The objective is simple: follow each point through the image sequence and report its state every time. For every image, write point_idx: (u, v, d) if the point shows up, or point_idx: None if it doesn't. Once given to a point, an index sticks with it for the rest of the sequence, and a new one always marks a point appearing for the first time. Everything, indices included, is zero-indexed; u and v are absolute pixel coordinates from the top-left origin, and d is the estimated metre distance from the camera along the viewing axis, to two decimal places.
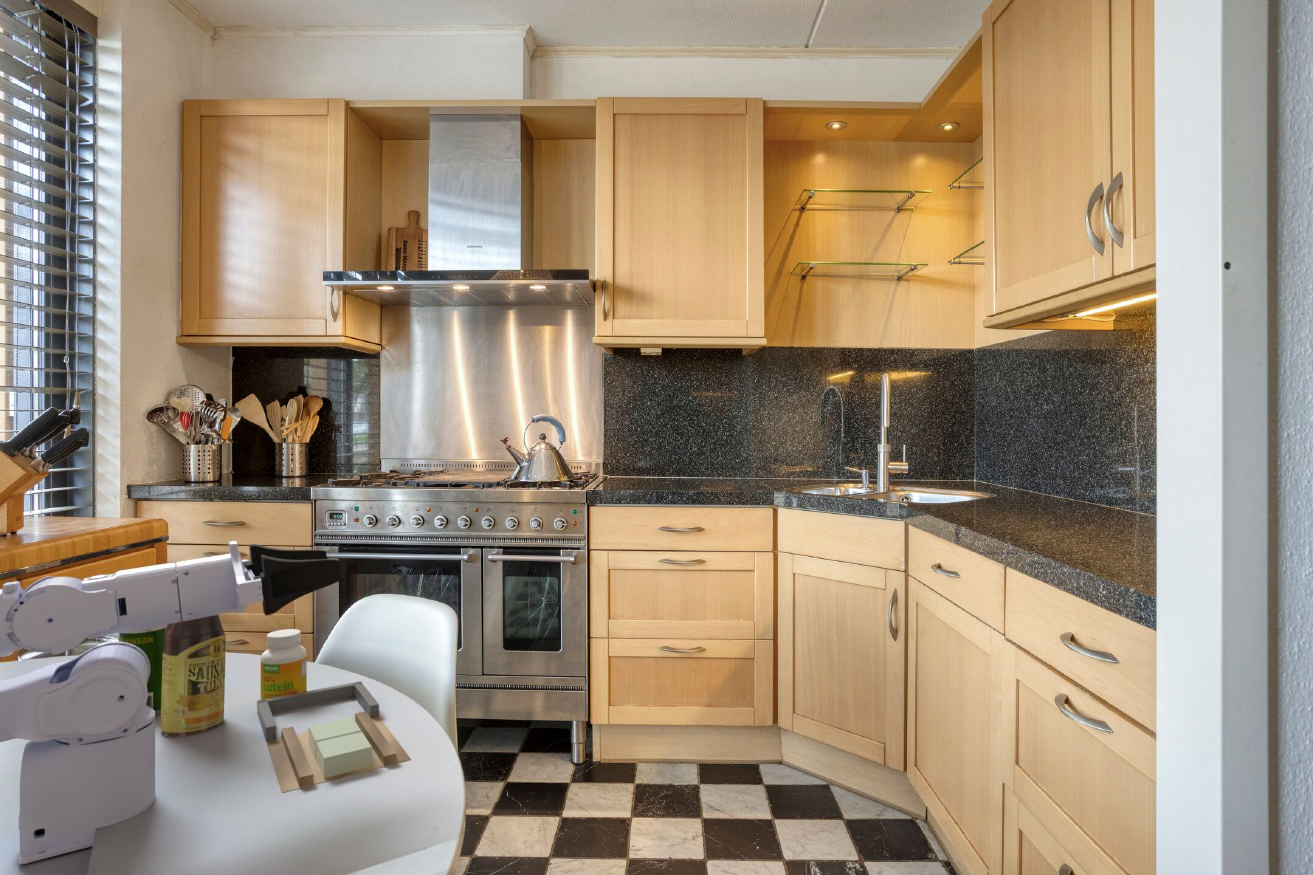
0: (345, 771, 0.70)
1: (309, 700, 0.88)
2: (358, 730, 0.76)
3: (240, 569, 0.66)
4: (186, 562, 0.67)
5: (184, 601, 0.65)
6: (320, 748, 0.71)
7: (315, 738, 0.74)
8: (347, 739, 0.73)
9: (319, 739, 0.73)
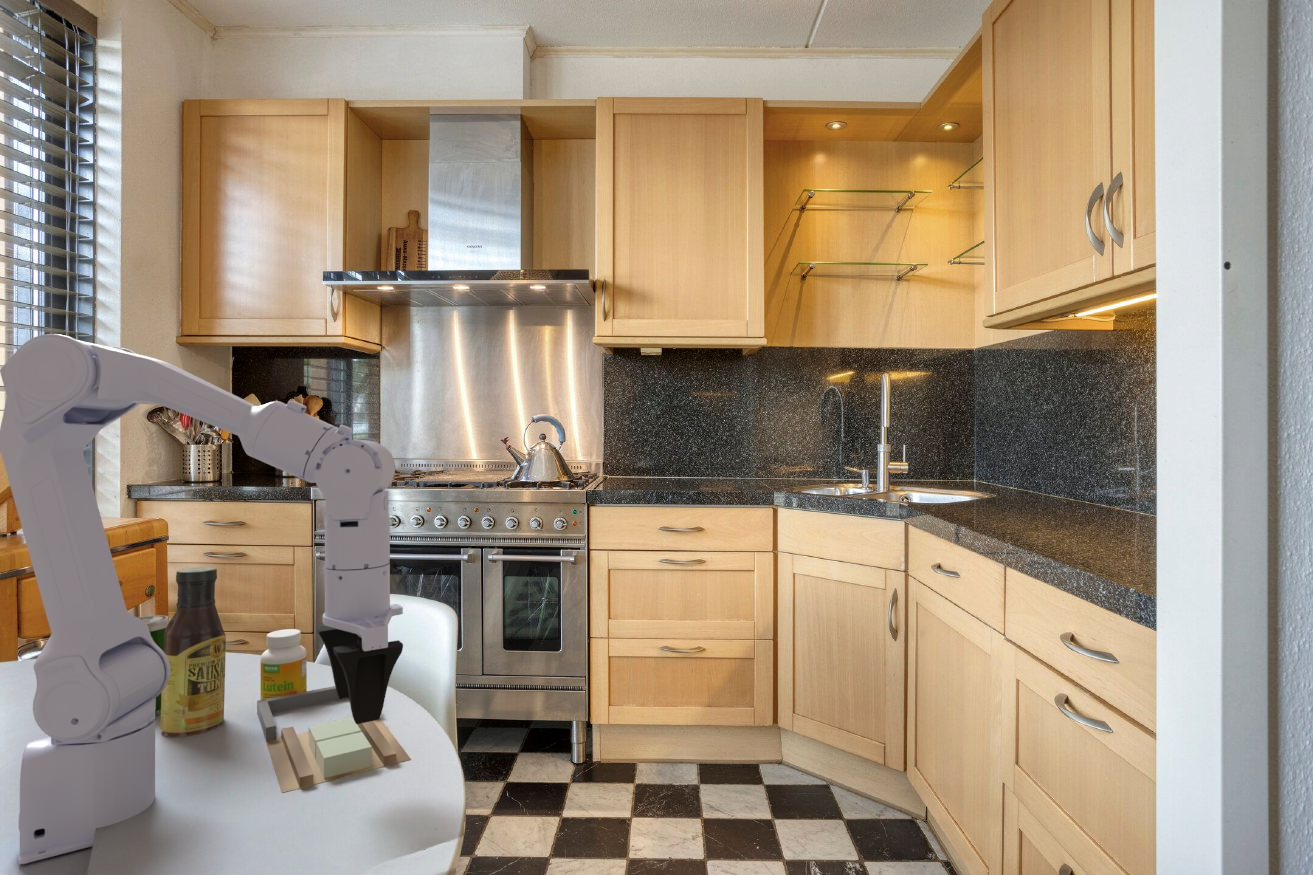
0: (345, 771, 0.70)
1: (309, 700, 0.88)
2: (358, 730, 0.76)
3: (387, 623, 0.64)
4: (389, 571, 0.68)
5: (358, 573, 0.64)
6: (320, 748, 0.71)
7: (315, 738, 0.74)
8: (347, 739, 0.73)
9: (319, 739, 0.73)
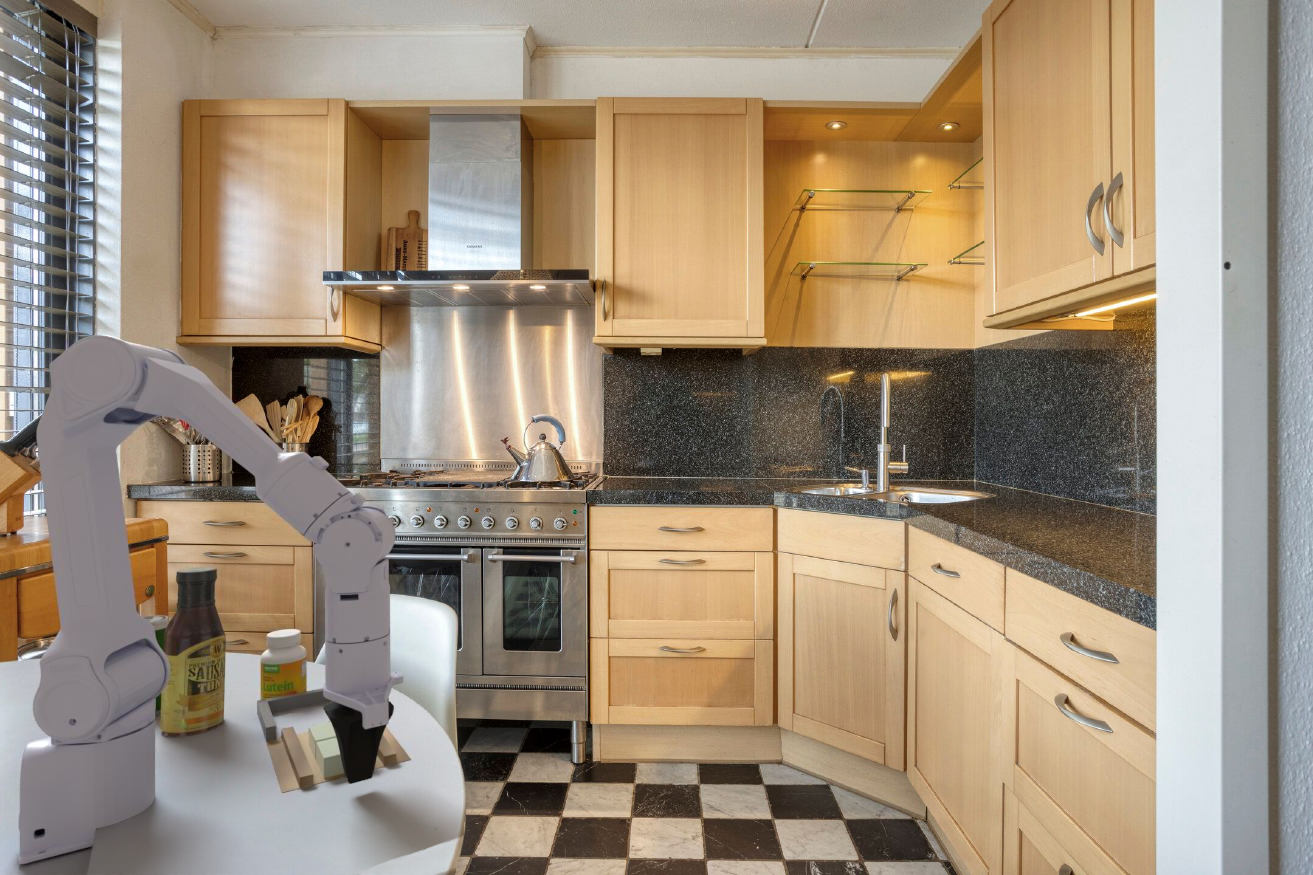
0: None
1: (309, 700, 0.88)
2: None
3: (388, 695, 0.64)
4: None
5: (358, 646, 0.64)
6: (320, 748, 0.71)
7: (315, 738, 0.74)
8: None
9: (319, 739, 0.73)
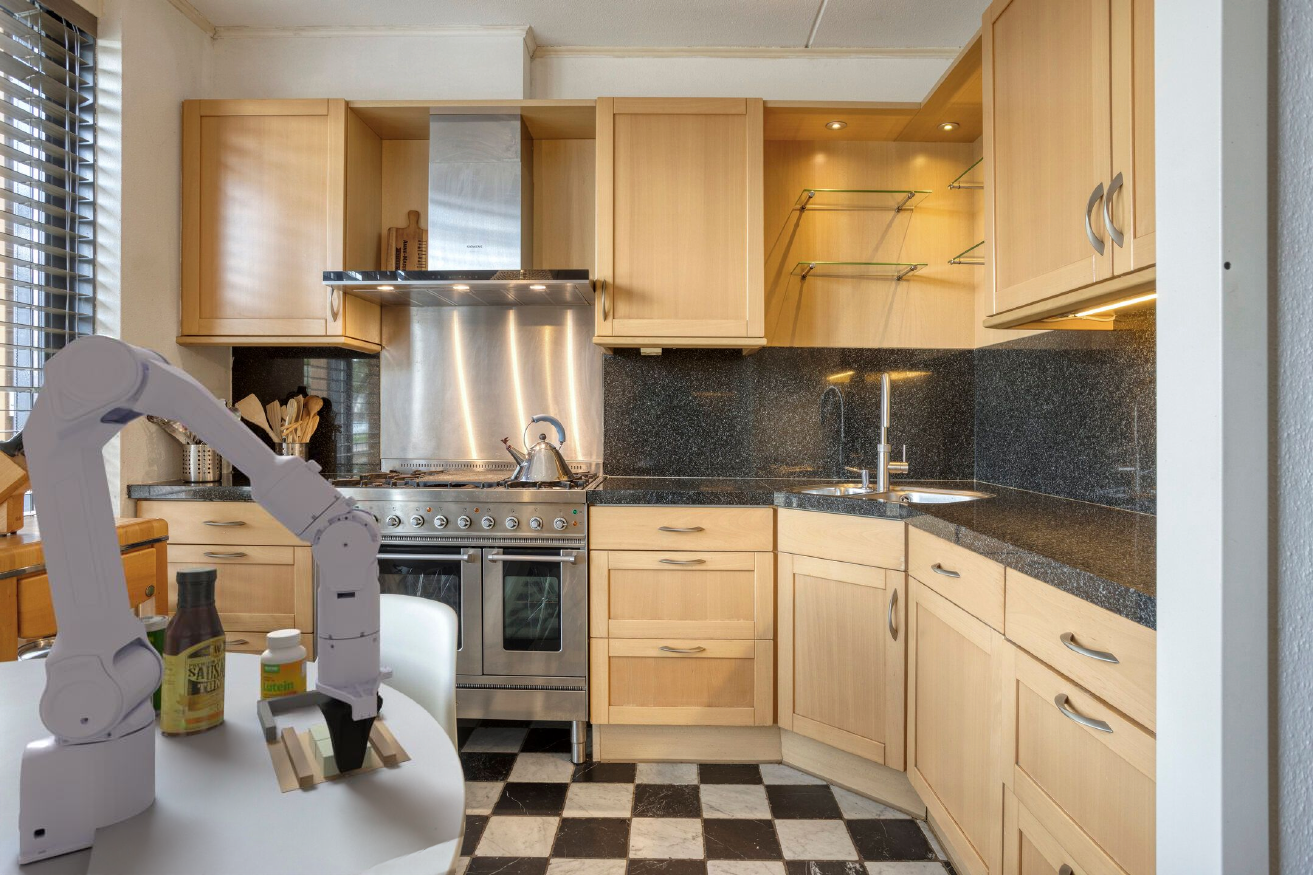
0: None
1: (309, 700, 0.88)
2: None
3: (377, 689, 0.67)
4: (379, 636, 0.71)
5: (349, 642, 0.67)
6: (320, 747, 0.71)
7: (315, 738, 0.74)
8: None
9: (319, 739, 0.73)
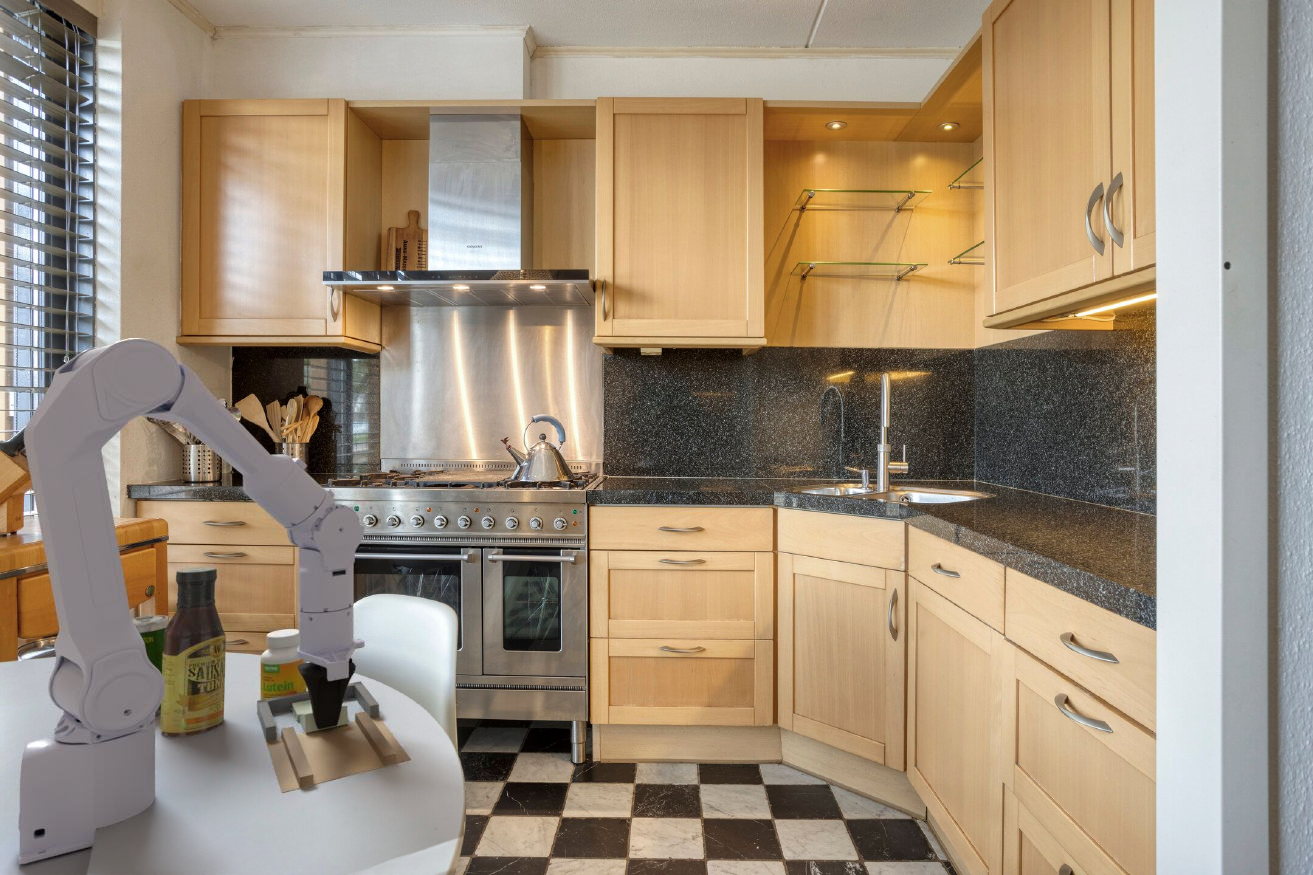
0: None
1: None
2: None
3: (350, 656, 0.78)
4: None
5: (325, 615, 0.78)
6: (302, 714, 0.82)
7: (297, 712, 0.84)
8: None
9: (300, 713, 0.84)
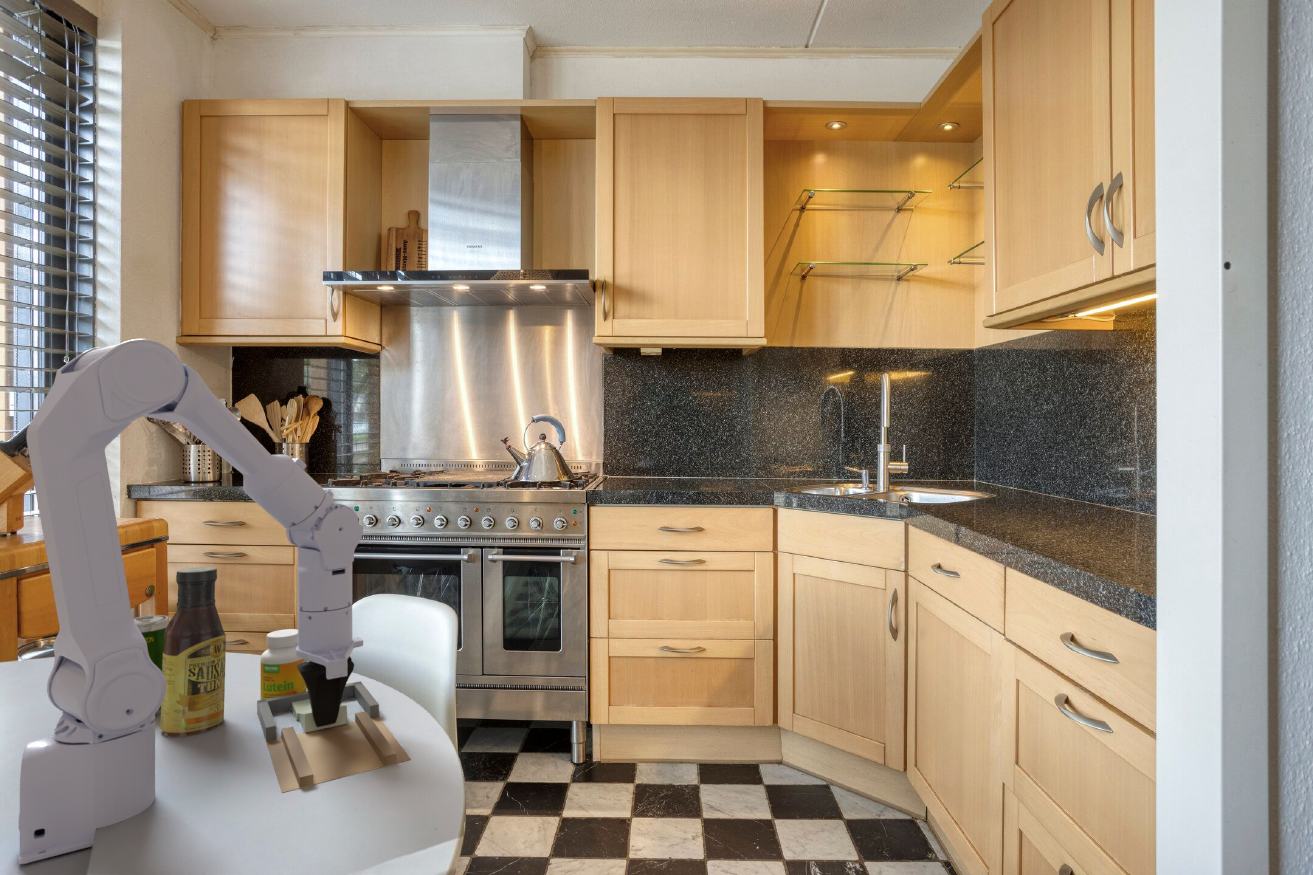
0: (324, 727, 0.81)
1: None
2: None
3: (348, 654, 0.78)
4: None
5: (324, 614, 0.78)
6: (302, 713, 0.82)
7: (297, 712, 0.84)
8: None
9: (300, 712, 0.84)
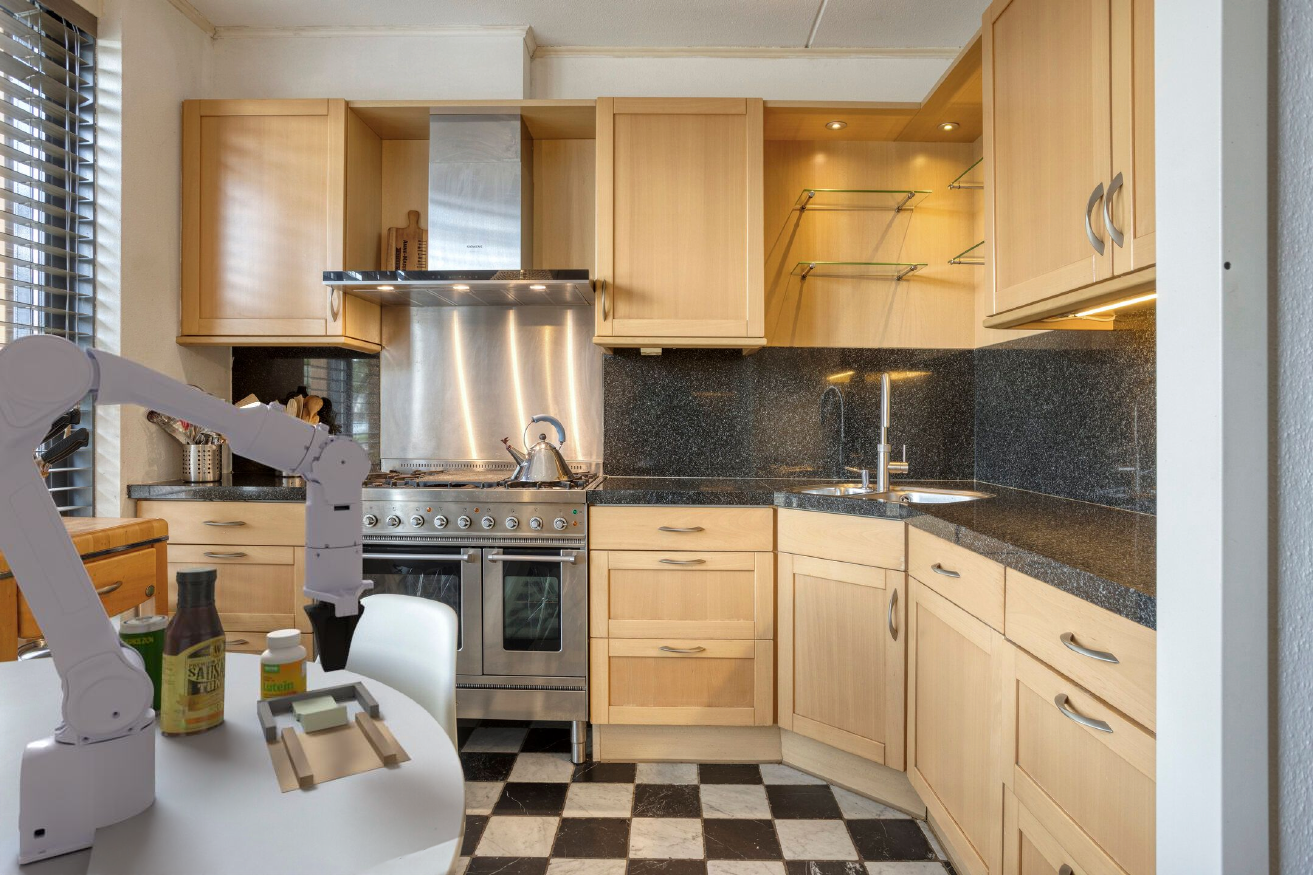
0: (324, 727, 0.81)
1: None
2: (335, 705, 0.86)
3: (359, 594, 0.74)
4: None
5: (333, 551, 0.74)
6: (302, 713, 0.82)
7: (297, 712, 0.84)
8: (326, 708, 0.84)
9: (300, 712, 0.84)
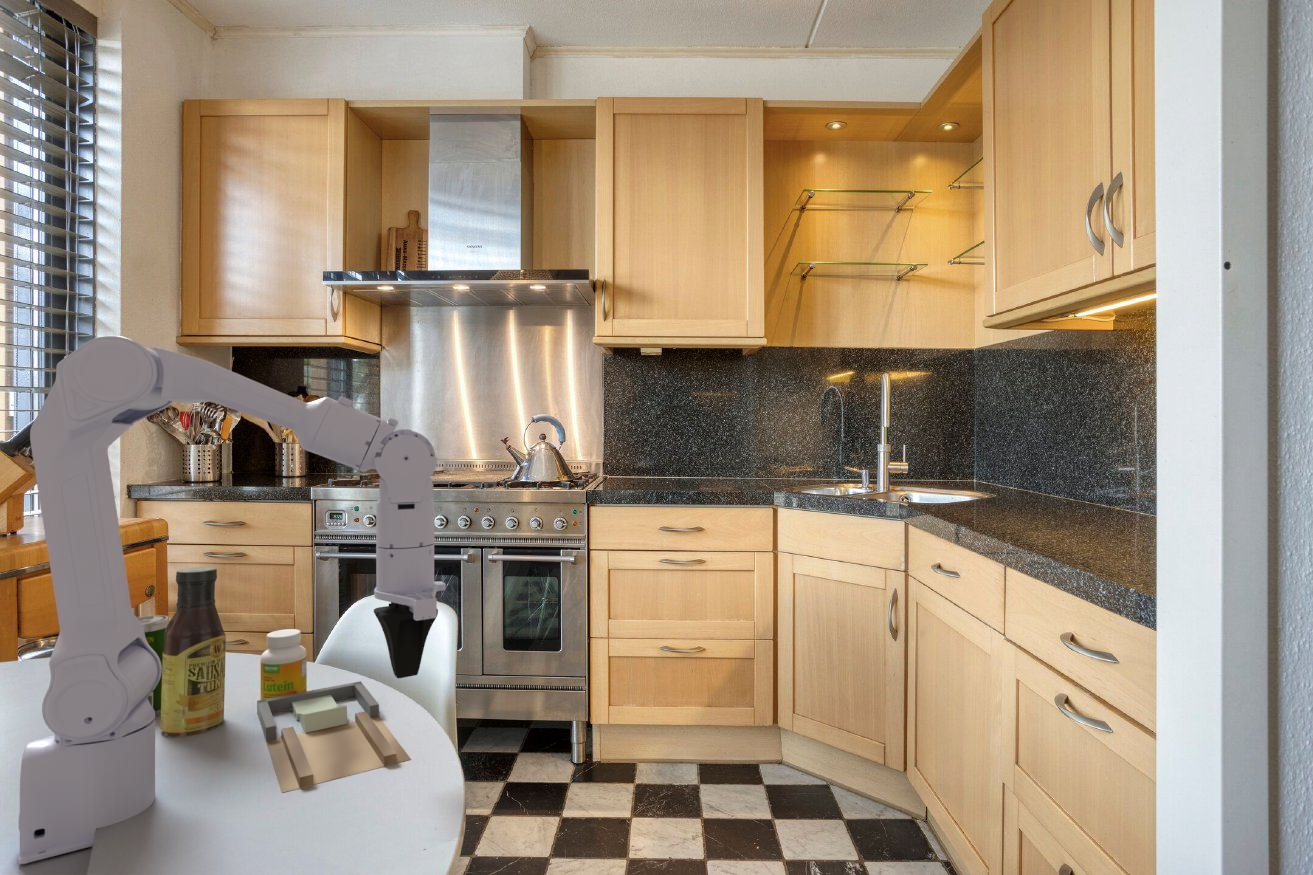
0: (324, 727, 0.81)
1: None
2: (335, 705, 0.86)
3: (434, 596, 0.71)
4: None
5: (407, 551, 0.70)
6: (302, 713, 0.82)
7: (297, 712, 0.84)
8: (326, 708, 0.84)
9: (300, 712, 0.84)
